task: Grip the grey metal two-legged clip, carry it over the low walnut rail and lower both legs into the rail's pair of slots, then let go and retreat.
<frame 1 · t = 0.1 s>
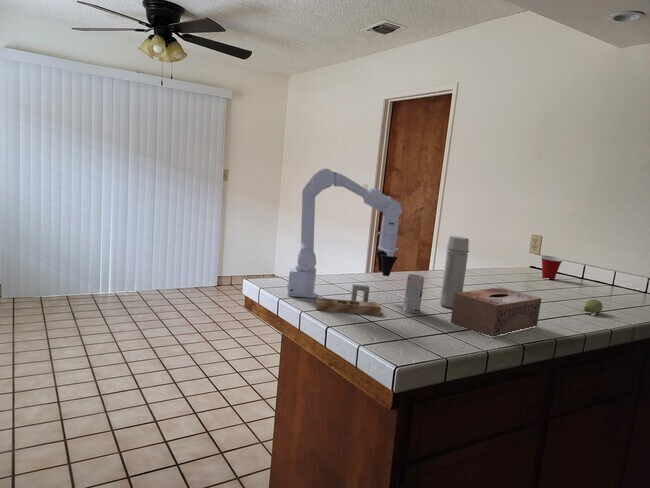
hand: (383, 273, 158), 10 cm above the countertop, tool pointing down, fingers open, 7 cm apart
water bottle: (448, 307, 161), on the countertop
clip: (359, 302, 154), on the countertop
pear: (591, 314, 173), on the countertop
plastic cup: (548, 279, 243), on the countertop
rail: (347, 310, 144), on the countertop
tissue box cover: (494, 326, 143), on the countertop
energy drink: (411, 311, 150), on the countertop
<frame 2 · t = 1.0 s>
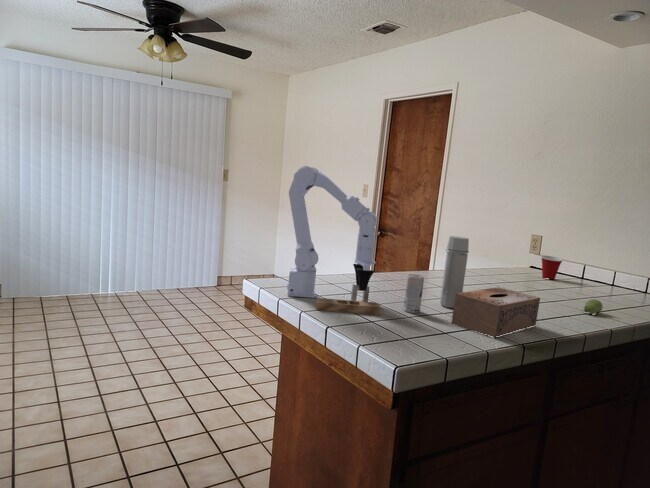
hand: (361, 287, 153), 5 cm above the countertop, tool pointing down, fingers open, 7 cm apart
nothing on the countertop moved.
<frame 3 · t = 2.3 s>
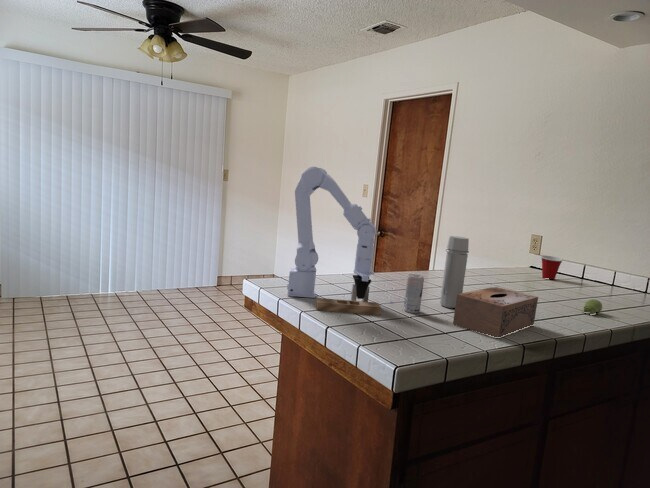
hand: (359, 297, 154), 2 cm above the countertop, tool pointing down, fingers closed on clip, 2 cm apart
clip: (359, 302, 154), on the countertop, touching gripper
everything else where it was.
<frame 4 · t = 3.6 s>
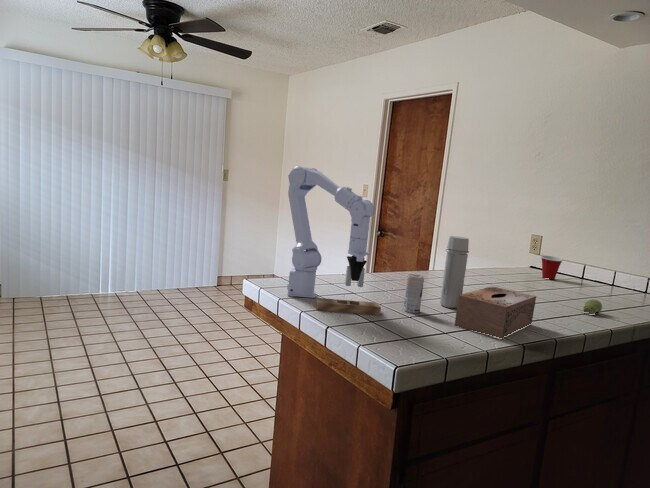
hand: (354, 279, 145), 9 cm above the countertop, tool pointing down, fingers closed on clip, 2 cm apart
clip: (353, 285, 146), point 7 cm above the countertop, touching gripper
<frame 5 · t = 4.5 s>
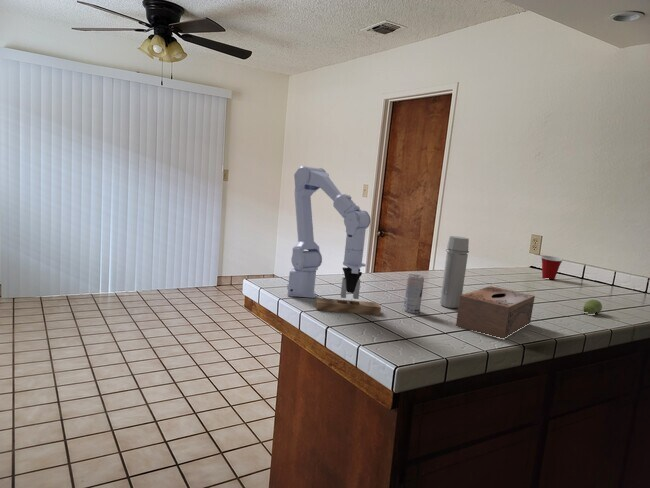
hand: (349, 291, 143), 6 cm above the countertop, tool pointing down, fingers closed on clip, 2 cm apart
clip: (349, 297, 143), point 4 cm above the countertop, touching gripper
when the fingers open (3 cm above the countertop, at t = 5.3 s): clip drops 1 cm, resting in rail.
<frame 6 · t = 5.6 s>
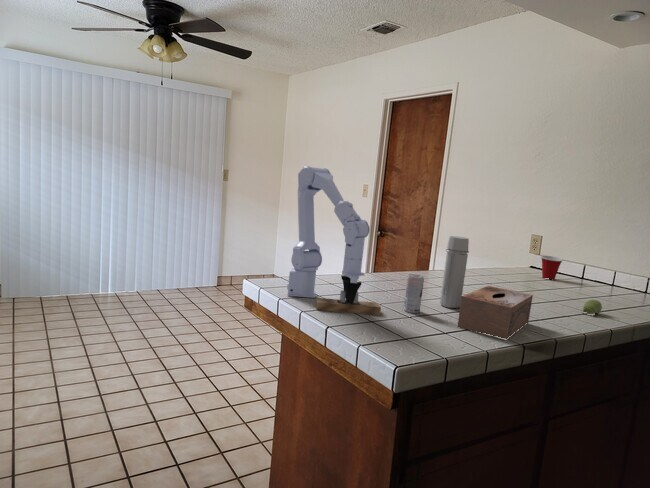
hand: (348, 300, 143), 3 cm above the countertop, tool pointing down, fingers open, 5 cm apart
clip: (347, 310, 144), resting in rail
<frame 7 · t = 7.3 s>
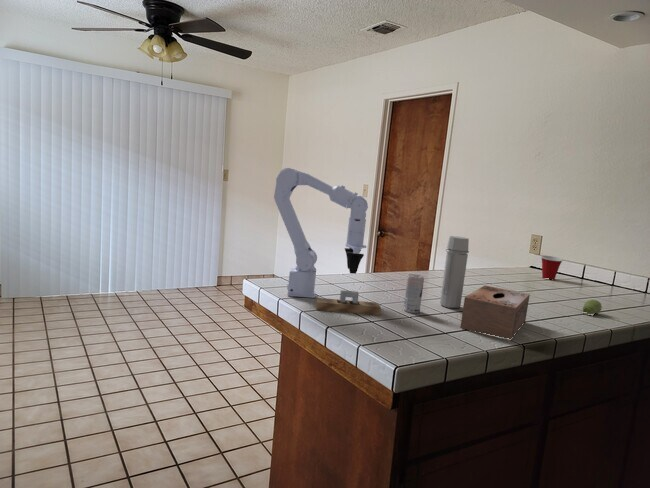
hand: (351, 271, 155), 10 cm above the countertop, tool pointing down, fingers open, 7 cm apart
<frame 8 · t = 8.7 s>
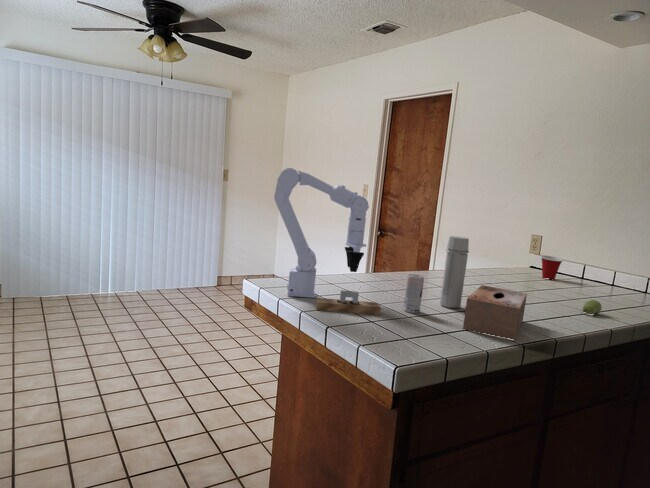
hand: (351, 269, 157), 10 cm above the countertop, tool pointing down, fingers open, 7 cm apart
at the end: clip 0.0 cm off-centre on the rail, point 0.0 cm above the rail's base; clip tilted 0°; the gripper is holding nothing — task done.
